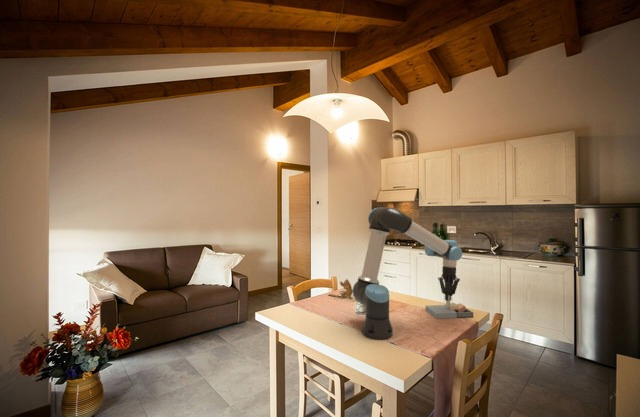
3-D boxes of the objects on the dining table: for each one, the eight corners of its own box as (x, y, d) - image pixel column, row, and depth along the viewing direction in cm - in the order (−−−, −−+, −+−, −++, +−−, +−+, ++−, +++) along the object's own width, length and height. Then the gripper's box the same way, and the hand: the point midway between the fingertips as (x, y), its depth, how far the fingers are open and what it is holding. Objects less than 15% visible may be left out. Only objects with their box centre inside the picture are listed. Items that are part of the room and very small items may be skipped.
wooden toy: (359, 298, 211) (359, 279, 211) (353, 302, 202) (352, 282, 202) (333, 293, 223) (332, 275, 223) (325, 297, 215) (325, 278, 215)
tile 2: (457, 310, 177) (459, 313, 177) (464, 305, 177) (466, 309, 177) (453, 307, 182) (455, 310, 182) (459, 303, 182) (461, 306, 182)
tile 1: (458, 309, 177) (458, 305, 177) (450, 310, 176) (450, 305, 176) (453, 306, 182) (453, 302, 182) (446, 307, 181) (446, 303, 181)
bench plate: (456, 317, 172) (456, 312, 172) (436, 318, 171) (436, 313, 171) (444, 309, 186) (444, 304, 186) (425, 310, 185) (425, 305, 185)
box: (473, 317, 172) (473, 312, 172) (457, 318, 171) (457, 312, 171) (458, 308, 187) (458, 304, 187) (443, 309, 186) (443, 304, 186)
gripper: (455, 265, 184) (454, 304, 183) (436, 264, 182) (434, 304, 182) (462, 267, 176) (461, 308, 176) (442, 267, 175) (441, 307, 174)
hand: (447, 306), depth 179 cm, fingers closed, pressing on tile 1
